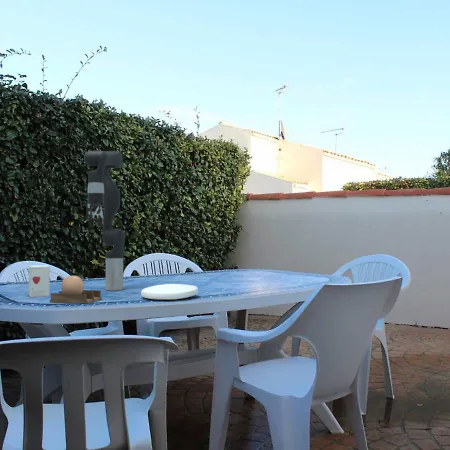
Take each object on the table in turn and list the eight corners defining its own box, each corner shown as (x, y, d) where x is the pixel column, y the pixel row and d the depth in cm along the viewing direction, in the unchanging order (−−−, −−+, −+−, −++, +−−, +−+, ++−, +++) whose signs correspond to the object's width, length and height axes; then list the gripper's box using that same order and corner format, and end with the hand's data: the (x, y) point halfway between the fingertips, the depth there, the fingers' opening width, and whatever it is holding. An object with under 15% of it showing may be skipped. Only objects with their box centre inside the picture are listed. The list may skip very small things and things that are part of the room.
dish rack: (66, 298, 229) (66, 289, 229) (101, 299, 225) (101, 290, 225) (49, 302, 215) (49, 293, 215) (86, 303, 211) (86, 294, 211)
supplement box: (30, 297, 233) (30, 266, 233) (28, 295, 241) (28, 265, 241) (49, 296, 237) (49, 265, 237) (47, 294, 245) (47, 264, 245)
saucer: (64, 298, 220) (64, 275, 220) (84, 299, 217) (84, 275, 217) (60, 299, 217) (60, 275, 217) (80, 300, 214) (80, 276, 215)
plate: (181, 292, 213) (129, 290, 223) (182, 307, 213) (130, 304, 223) (206, 279, 239) (159, 278, 249) (207, 292, 239) (160, 290, 249)
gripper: (95, 193, 238) (95, 226, 238) (81, 191, 225) (81, 226, 224) (109, 193, 237) (109, 226, 236) (95, 191, 223) (95, 226, 223)
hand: (95, 226), depth 230 cm, fingers open, 8 cm apart
